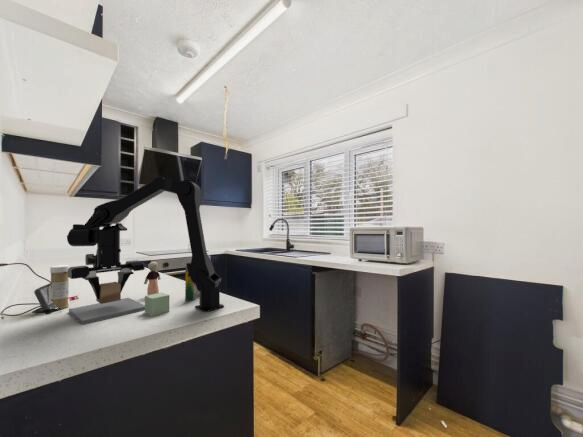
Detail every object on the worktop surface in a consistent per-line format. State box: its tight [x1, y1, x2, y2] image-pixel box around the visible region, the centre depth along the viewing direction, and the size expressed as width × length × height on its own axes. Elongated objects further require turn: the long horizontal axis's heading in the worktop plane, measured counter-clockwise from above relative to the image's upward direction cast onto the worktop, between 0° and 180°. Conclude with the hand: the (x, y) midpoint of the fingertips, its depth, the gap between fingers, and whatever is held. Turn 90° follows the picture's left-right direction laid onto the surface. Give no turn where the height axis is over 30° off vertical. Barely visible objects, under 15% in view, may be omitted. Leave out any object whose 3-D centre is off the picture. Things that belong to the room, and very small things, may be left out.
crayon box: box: [184, 266, 199, 302], centre depth 95 cm, size 7×3×12 cm, turn 179°
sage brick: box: [144, 292, 170, 317], centre depth 79 cm, size 5×5×5 cm
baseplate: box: [68, 297, 145, 325], centre depth 81 cm, size 16×16×1 cm
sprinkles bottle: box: [49, 264, 70, 310], centre depth 85 cm, size 5×5×13 cm
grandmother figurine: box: [143, 261, 161, 296], centre depth 98 cm, size 8×4×13 cm, turn 179°
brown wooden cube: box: [95, 281, 122, 304], centre depth 81 cm, size 5×5×5 cm
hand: (108, 297), depth 81 cm, fingers closed on brown wooden cube, 5 cm apart
